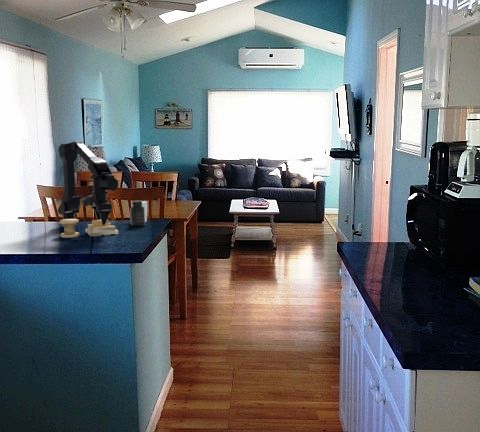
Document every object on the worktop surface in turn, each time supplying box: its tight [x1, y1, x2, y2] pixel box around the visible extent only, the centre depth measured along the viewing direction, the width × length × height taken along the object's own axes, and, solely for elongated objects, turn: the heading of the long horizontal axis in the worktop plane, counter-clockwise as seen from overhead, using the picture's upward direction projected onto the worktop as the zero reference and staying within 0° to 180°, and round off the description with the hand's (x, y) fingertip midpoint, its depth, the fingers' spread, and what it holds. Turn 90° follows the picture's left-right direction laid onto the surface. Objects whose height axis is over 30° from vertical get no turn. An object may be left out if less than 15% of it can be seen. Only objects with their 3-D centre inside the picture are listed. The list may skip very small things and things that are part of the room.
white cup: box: [131, 200, 148, 223], centre depth 282 cm, size 8×8×10 cm
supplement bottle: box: [129, 200, 146, 227], centre depth 271 cm, size 7×7×12 cm
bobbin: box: [59, 218, 80, 239], centre depth 247 cm, size 8×8×7 cm
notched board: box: [85, 222, 119, 238], centre depth 253 cm, size 12×12×4 cm
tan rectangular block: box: [91, 219, 110, 227], centre depth 253 cm, size 4×7×4 cm, turn 117°
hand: (101, 223), depth 253 cm, fingers open, 9 cm apart
